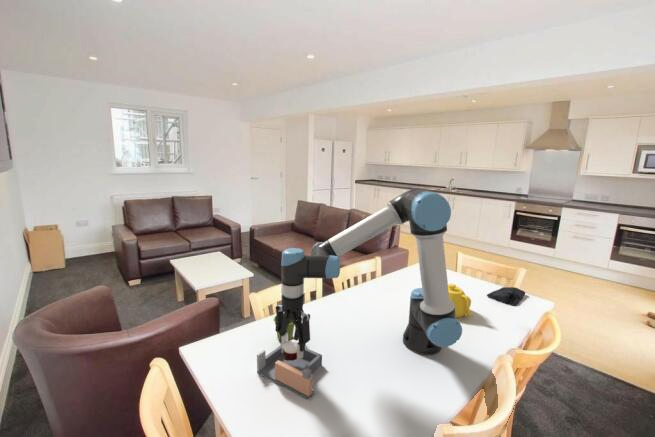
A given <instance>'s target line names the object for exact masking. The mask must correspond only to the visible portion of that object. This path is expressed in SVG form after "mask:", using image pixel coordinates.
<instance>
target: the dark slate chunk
mask: <svg viewBox="0 0 655 437" xmlns="http://www.w3.org/2000/svg"><path fill="white" fill-rule="evenodd" d="M525 295H526V292H525V291H524V290H522V289H519V288H517V287H513V286H511V287H510V286H509V287H508V286H507V287H506V286H504V287H503V286H502V287H501V288H499V289H496V290H494V291H492V292H490V293H487V294H486V297H487V298H488V299H491V300H494V301H496V302H499V303H502V304H504V305H509V306H513V307H515V306H517V305H518V304H519V303H520V301H522V299H523V297H524V296H525Z"/></svg>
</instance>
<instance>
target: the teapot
mask: <svg viewBox="0 0 655 437" xmlns="http://www.w3.org/2000/svg"><path fill="white" fill-rule="evenodd" d="M448 291H449V299H450V300H451V301H452V302H453V303H454V305H455V313H456V319H459V318H463V317H464V316H466V317H470V316H471V315H472V311H471V309H470V307H471V305H472V300H471V298H470V297H469V296H468V295H466V293H465V292H464V291H463V289H462V288H460V287H458V286H456V285H455V284H453V283H448Z"/></svg>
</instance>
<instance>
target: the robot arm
mask: <svg viewBox="0 0 655 437" xmlns="http://www.w3.org/2000/svg"><path fill="white" fill-rule="evenodd" d="M451 216H452V208H451V206H450V203H449V201H448V200H447V199H446V198H445V197H444V196H443V195H441V194H440V193H438V192H436V191H431V190H427V189H424V188H420V187H417V188H411V189H409V190H407V191H405V192H403V193H401V194H399V195H397V196H396V197H395V198H393V199H391V200H389V201H388V202H387V204H386V206H384V207H382V208H381V209H379V210H377V211H376V212H374V213H372V214H370V215H369V216H367V217H365V218H364V219H362V220H360V221H359V222H356V223H355V224H352V225H351V226H349V227H348V228H347V229H345V230H342V231H340V232H339V233H337V234H336V235H334V236H332V237H331V238H329V239H327V240H325V241H324V242H323V241H320V242H316V243H314V244H313V246H312V248H311V251H310V255H305V251H304V250H303V249H302V248H296V247H292V248H291V247H289V248H287V249H284V250H283V251H282V253H281V264H280V268H281V269H280V270H281V271H280V272H281V276H280V277H281V303H280V304H278V305H276V306H275V312H276V315H275V316H276V325H275V330H274V331H275V332H276V333H277V332H279V334H280V340H279V342H280V343H281V344H280V345H281V347H282V353H283V344H284V343H286V342H288V333H285V332H287V328H288V325H289V321H290V320H292V321H293V324H294V329H295V328H296V332H297V336H298V341H299V342H297V360H298V361H299V360H300V359H301V358H302V357H303V351H304V350H305V348H306V344H307V343H309V342H310V341H311V331H310V330H311V326H310V319H311V314H310V313H307V314H306V313H305V312H304V309H303V308H304V304H305V301H304V298H305V296H304V290H305V288H304V287H305V283H304V282H305V279H327V280H329V279H337V278H339V277H340V273H341V260H340V259H341V258H340V256H342V255H344V254H346V253H348V252H349V251H351V250H353V249H355V248H356V247H359V246H361V245H362V244H364V243H366V242H367V241H369V240H371V239H373V238H375V237H376V236H378V235H379V234H381V233H383V232H385V231H387V230H389V229H391V228H392V227H394V226H396V225H403V224H404V223H406V222H409V229H410V234H411V235H412V236H413V237H415V240H416V247H417V248H416V250H417V255H418V256H417V257H418V264H419V273H420V281H421V287H417V288H414V289H413V290H412V291H411V293H410V300H409V301H410V302H409V312H408V314H409V315H408V323H407V326H406V328H405V330H404V332H403V334H402V342H403V345H404V346H405V348H407V349H409V350H410V351H412V352H414V353H416V354H417V353H418V354H421V355H435V354H437V353H439V352H440V351H441V350H442V348H445V347H446V348H447V347H450V346H453V345H454V344H456V343H457V341H459V340H460V339H461V337H462V335H463V326H462V324H461V322H460V321H459V320H458V318H456V313H455V305H454V303H453V302H452V301H451V300H450V299H449V291H448V284H449V282H448V275H447V263H446V254H445V245H444V235H445V233H446V232H447V231H448V222H450V219H451ZM283 313H284V317H283Z"/></svg>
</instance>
